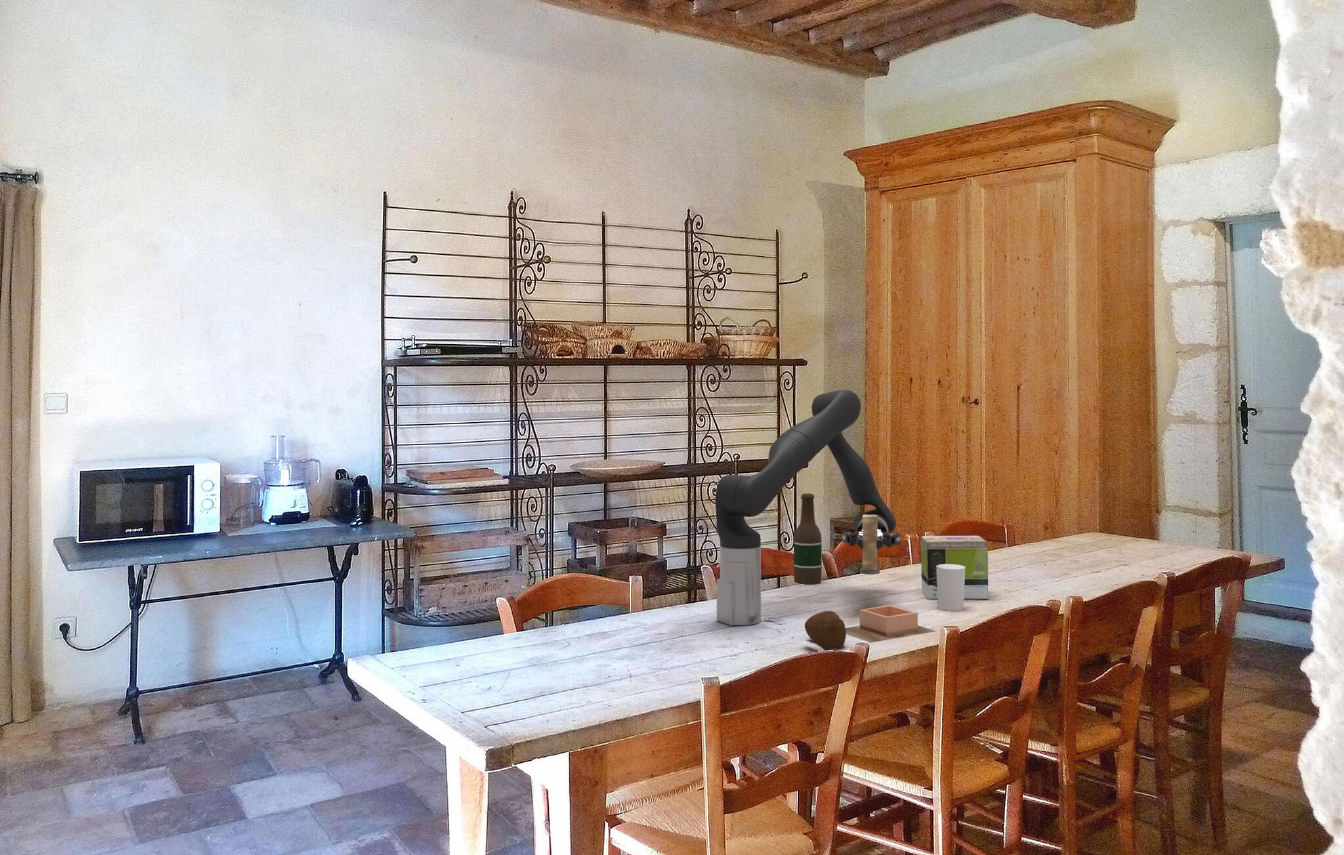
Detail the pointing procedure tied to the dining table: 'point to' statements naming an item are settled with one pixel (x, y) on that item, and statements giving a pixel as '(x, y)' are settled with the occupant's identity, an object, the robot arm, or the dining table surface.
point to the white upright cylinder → (950, 586)
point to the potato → (826, 630)
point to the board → (874, 637)
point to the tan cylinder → (869, 545)
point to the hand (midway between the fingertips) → (869, 543)
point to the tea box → (956, 552)
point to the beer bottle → (807, 545)
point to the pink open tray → (888, 620)
